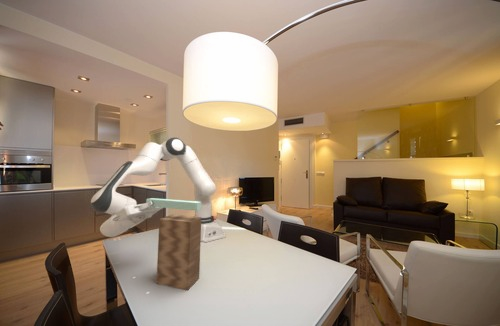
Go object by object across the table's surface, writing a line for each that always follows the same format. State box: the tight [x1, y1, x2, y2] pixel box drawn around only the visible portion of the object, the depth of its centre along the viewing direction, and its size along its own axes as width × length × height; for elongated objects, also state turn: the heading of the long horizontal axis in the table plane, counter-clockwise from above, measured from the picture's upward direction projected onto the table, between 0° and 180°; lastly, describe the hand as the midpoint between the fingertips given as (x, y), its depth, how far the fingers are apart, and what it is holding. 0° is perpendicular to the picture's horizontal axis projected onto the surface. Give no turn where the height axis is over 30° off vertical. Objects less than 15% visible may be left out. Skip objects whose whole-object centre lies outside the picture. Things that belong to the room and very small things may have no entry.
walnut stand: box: [155, 214, 202, 291], centre depth 75 cm, size 14×8×25 cm, turn 75°
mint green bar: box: [145, 197, 201, 212], centre depth 77 cm, size 24×3×3 cm, turn 75°
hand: (156, 201), depth 79 cm, fingers closed on mint green bar, 3 cm apart
